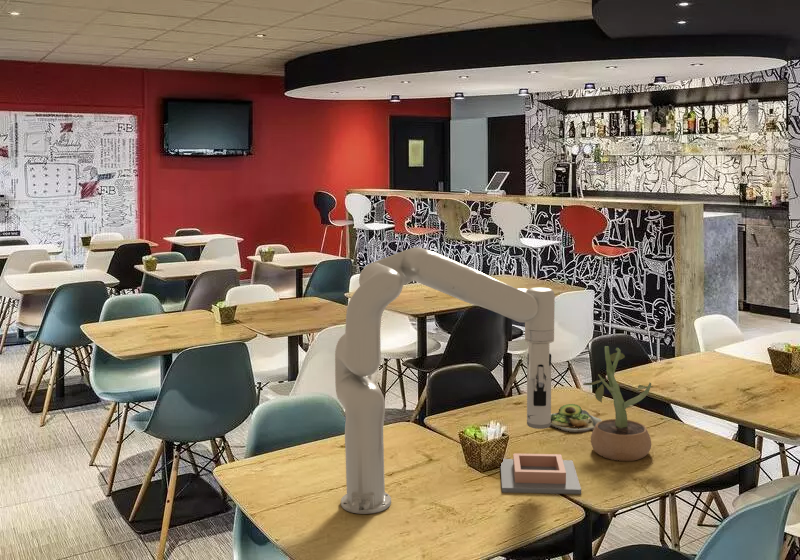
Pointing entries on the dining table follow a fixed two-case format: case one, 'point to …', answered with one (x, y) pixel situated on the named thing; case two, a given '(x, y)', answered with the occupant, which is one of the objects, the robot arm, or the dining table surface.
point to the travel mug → (538, 414)
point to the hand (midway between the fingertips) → (538, 401)
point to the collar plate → (539, 474)
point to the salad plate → (573, 419)
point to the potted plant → (619, 420)
